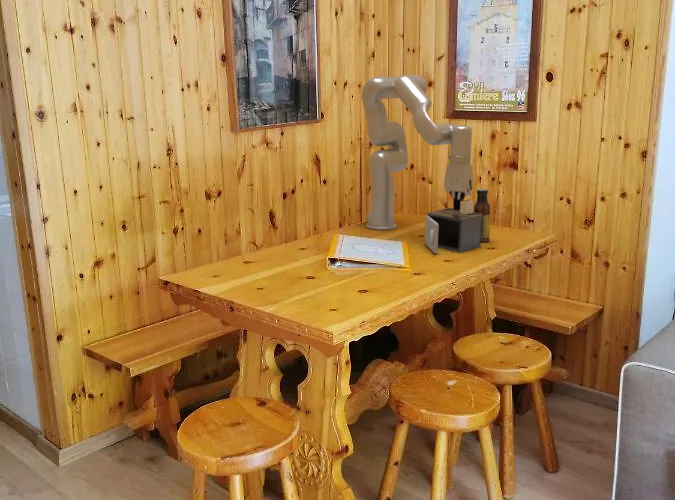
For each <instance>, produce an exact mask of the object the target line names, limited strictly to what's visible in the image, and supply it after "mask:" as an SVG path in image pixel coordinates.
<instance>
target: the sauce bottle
mask: <svg viewBox="0 0 675 500" xmlns="http://www.w3.org/2000/svg"><path fill="white" fill-rule="evenodd" d="M488 193H489V190H488V189H486V188H478V189H477V190H476V194H477V195H476V202H475V204H473V212H474V213H479V214H482V215H483V218H482V234H481V243H487V242H489V241H490V236H491V235H490V233H491V205H490V204H489V202H488Z"/></svg>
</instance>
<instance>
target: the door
mask: <svg viewBox="0 0 675 500" xmlns="http://www.w3.org/2000/svg"><path fill="white" fill-rule="evenodd" d="M424 223H425V224H424V225H425V228H424V245H426V247H427V248H429V250H431V251H432V252H433V253H434V254H438V250H439V247H438V230H439V224H438V223H436V222H435V221H434V220H433V219H432V218H430V217H429V216H428V215H427V214H426V215H425V222H424Z"/></svg>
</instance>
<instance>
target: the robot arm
mask: <svg viewBox="0 0 675 500" xmlns="http://www.w3.org/2000/svg"><path fill="white" fill-rule="evenodd" d="M427 92H428V82H427V80H426V79H425V78H424V77H423V76H421V75H418V74H417V75H416V74H412V75H411V74H406V75H405V74H404V75H400V76H375V77H371V78H370V79H368V80H367V81H365V83H364V85H363V86H362V91H361V99H362V101H361V102H362V105H363V108H364V112H365V118H366V119H365V120H366V126H367V133H368V139H369V142H370V144H371V145H372V146H373V147H387V149H379V150H375V151H373V152H372V153H371V154H370V156H369V158H368V168H369V175H370V211H369V212H370V213H367V214H366V215H365V216H364V219H365V220H367V222H366V224H365V225H366V228H367V229H371V230H377V231H387V230H394V229H397V227H398V224H397V223H396V222H394V208H395V207H394V206H395V181H394V179H393V176H392V173H397V172H401V171H404V170H405V169H406V168H407V166H408V164H409V154H408V145H407V139H406V138H407V137H406V133H405V130H404V128H403V125H402V124H400V123H399V122H397V121H389V118H388V112H387V108H386V106H385V105H384V103H383V102H382V100H384V99H399V100H400V101H401V102H402V103H403V104H404V105H405V107H406V108H407V109H408V111H409V112H410V113H411V114H412V122H413V127H414V129H415V130H416V132H417V133H418V135H419V136H420V137H421V138H422V139H423V140H424V141H425V142H426V143H427V144H428V145H431V146H442V145H443V146H444V145H450V146H449V147H450V148H449V155H448V156H447V159H448V160H449V162H448V163H447V165H446V168H445V172H444V183H443V186H444V187H443V188H444V189H445V192H446V193H448V194H450V195H451V198H452V199H453V210H460V203H461V201H463V200H465V198H466V197H467V196H468V197H469V196H472V190H473V184H474V183H473V182H474V180H473V179H474V178H473V177H474V175H473V174H474V173H473V166H472V163H471V159H472V158H471V155H472V138H473V129H472V127H471V126H470V125H462V124H461V125H460V124H459V125H458V124H454V123H434V121H433V120H432V119H431V118H430V117H429V116H428V111H429V110H430V109H431V107H432V99H431V98H430V97H429V96H428V94H426V93H427Z"/></svg>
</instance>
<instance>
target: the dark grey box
mask: <svg viewBox="0 0 675 500" xmlns="http://www.w3.org/2000/svg"><path fill="white" fill-rule="evenodd" d="M426 215H428V216H429V217H430V218H432V219H433V220H434V221H435V222H436V223H438V224H439V230H438V249H439V248H440V249H444V250H446V251H447V250H448V251H452V252H457V253H460V254H461V253H464V252H467V251H468V252H469V251H471V250H475V249H480V248H481V247H482V242H481V234H482V218H483V215H482V214H479V213H474V211H473V212H472V213H471V214H462V213H460V210H453V208H452V207H447V208H441V209H440V208H439V209H438V210H435V211H428V212H427V214H426Z"/></svg>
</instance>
